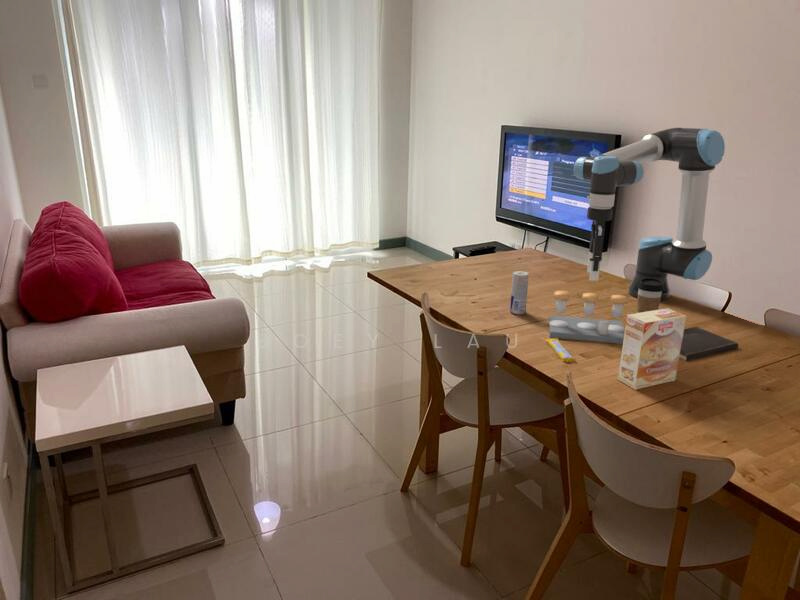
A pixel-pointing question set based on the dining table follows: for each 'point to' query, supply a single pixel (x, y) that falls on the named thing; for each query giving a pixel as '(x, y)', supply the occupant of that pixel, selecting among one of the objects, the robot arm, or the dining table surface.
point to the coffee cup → (649, 294)
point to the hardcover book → (703, 344)
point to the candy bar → (560, 350)
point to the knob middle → (589, 303)
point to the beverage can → (519, 292)
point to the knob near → (618, 305)
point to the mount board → (585, 329)
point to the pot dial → (603, 328)
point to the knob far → (561, 300)
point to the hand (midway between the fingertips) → (592, 276)
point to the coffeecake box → (651, 348)
